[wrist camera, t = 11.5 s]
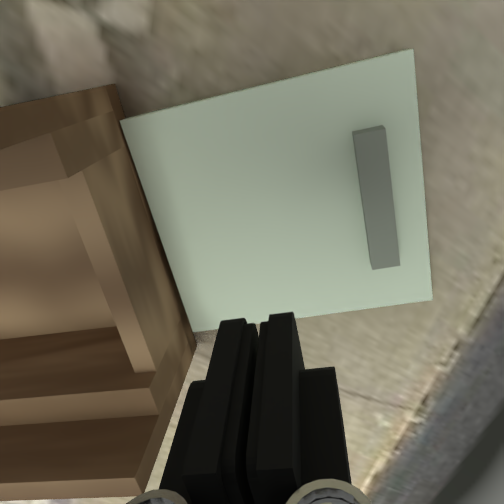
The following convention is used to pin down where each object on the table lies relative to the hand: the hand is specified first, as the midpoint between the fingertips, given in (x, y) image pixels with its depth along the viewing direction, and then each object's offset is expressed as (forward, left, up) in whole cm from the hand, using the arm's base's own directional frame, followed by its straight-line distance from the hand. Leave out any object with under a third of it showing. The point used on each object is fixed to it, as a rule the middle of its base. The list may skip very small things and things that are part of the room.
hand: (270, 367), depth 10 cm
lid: (0, 0, -12) cm, 12 cm away
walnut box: (0, -14, -11) cm, 18 cm away
